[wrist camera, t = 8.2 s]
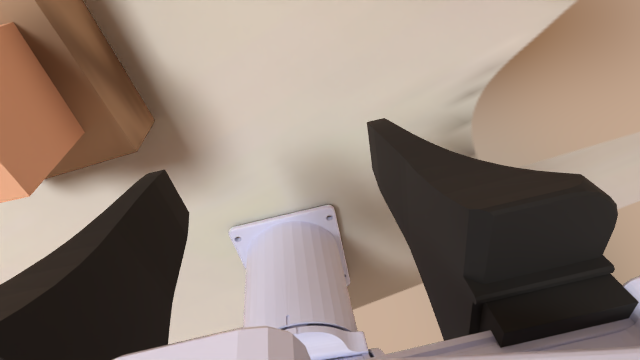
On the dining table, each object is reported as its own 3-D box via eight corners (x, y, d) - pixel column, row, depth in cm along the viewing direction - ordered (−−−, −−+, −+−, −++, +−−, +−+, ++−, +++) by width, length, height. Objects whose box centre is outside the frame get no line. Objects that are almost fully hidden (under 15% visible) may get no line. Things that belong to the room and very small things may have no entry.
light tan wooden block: (156, 117, 21) (137, 151, 18) (17, 159, 21) (-27, 200, 18) (51, -60, 16) (-4, -57, 12) (-132, 0, 16) (-232, 18, 13)
